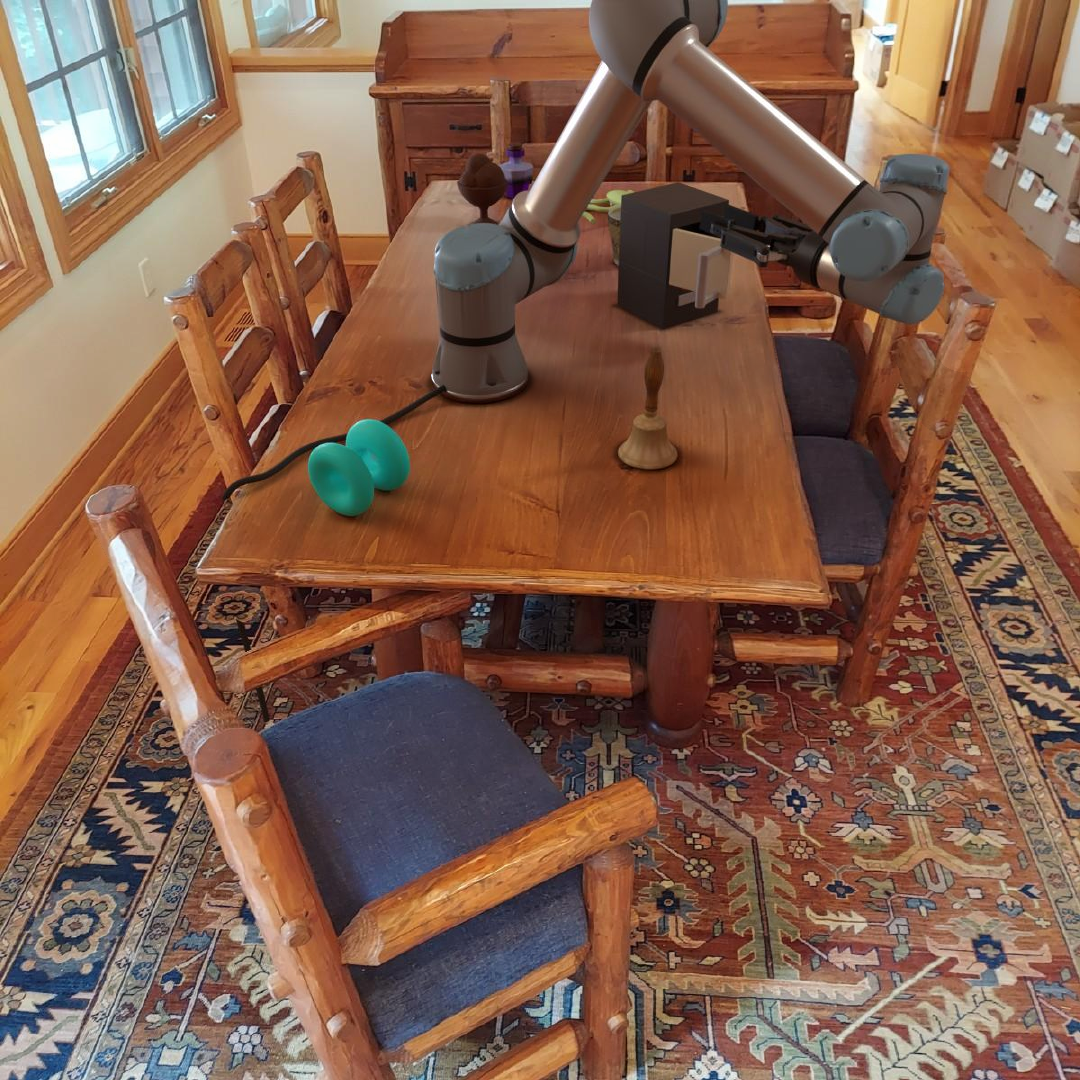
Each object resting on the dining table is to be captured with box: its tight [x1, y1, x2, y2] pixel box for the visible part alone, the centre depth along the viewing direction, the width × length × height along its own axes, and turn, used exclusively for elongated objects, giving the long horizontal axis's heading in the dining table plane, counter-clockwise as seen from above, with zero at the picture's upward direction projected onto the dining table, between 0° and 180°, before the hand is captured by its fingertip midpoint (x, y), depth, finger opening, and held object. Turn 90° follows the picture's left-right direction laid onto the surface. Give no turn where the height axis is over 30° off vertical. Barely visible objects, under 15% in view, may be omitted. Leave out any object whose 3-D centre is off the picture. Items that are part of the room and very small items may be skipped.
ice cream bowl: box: [456, 152, 508, 225], centre depth 209 cm, size 11×11×15 cm
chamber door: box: [669, 228, 734, 308], centre depth 156 cm, size 7×11×9 cm, turn 51°
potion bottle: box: [497, 142, 534, 200], centre depth 227 cm, size 9×9×12 cm
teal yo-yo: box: [307, 418, 411, 517], centre depth 123 cm, size 10×10×10 cm
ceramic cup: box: [607, 206, 621, 267], centre depth 192 cm, size 13×10×10 cm
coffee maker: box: [616, 181, 730, 330], centre depth 169 cm, size 14×13×20 cm
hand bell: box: [617, 346, 679, 470], centre depth 130 cm, size 8×8×16 cm
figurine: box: [581, 189, 635, 225], centre depth 214 cm, size 18×27×6 cm
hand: (714, 216), depth 145 cm, fingers open, 4 cm apart
